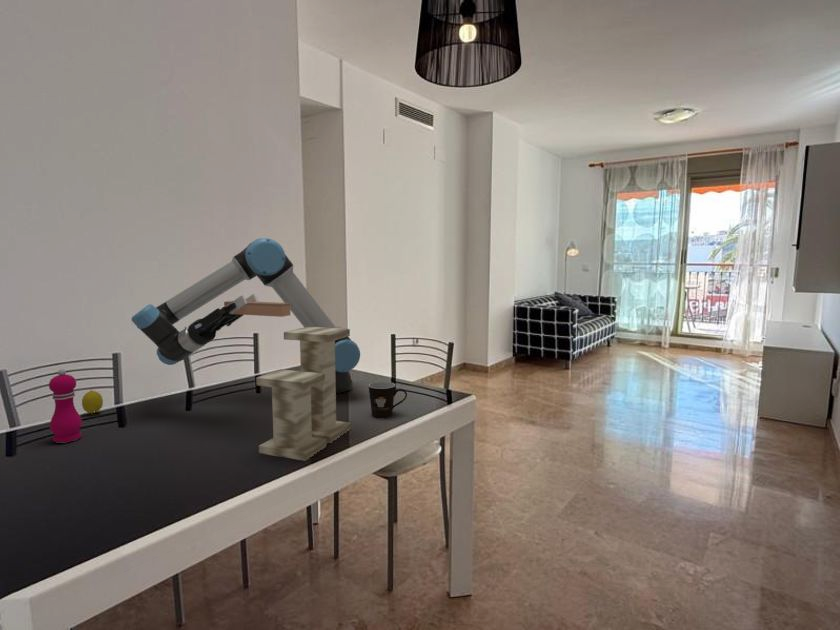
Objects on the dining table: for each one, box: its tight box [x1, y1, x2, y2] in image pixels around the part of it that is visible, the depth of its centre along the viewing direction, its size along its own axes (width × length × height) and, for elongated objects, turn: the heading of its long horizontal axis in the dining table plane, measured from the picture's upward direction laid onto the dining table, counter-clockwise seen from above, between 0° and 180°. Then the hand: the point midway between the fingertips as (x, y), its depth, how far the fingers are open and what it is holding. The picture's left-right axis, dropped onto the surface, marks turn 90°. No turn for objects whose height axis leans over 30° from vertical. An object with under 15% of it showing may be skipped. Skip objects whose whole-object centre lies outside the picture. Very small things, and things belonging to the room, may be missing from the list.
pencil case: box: [223, 300, 291, 318], centre depth 139 cm, size 20×4×4 cm, turn 69°
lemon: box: [81, 389, 104, 414], centre depth 155 cm, size 6×6×8 cm
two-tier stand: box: [255, 326, 352, 462], centre depth 132 cm, size 14×24×30 cm, turn 160°
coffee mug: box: [368, 381, 408, 419], centre depth 154 cm, size 12×9×10 cm
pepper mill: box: [48, 368, 83, 443], centre depth 132 cm, size 7×7×20 cm
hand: (249, 298), depth 140 cm, fingers closed on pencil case, 4 cm apart
